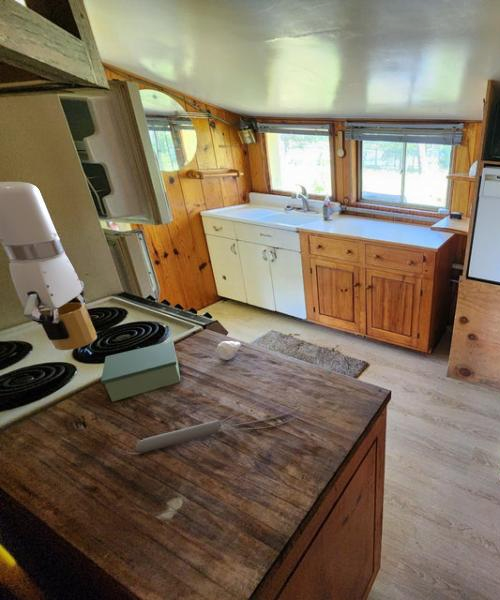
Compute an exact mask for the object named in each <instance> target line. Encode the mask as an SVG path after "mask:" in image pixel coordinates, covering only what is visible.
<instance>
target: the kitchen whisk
mask: <svg viewBox="0 0 500 600" xmlns="http://www.w3.org/2000/svg"><path fill="white" fill-rule="evenodd" d="M286 397H287V398H292V399H294V400H295V401H286V402H285V401H284V402H280V403H279V402H278V403H275V404H272V405H268V406H265V407H261V408H257V409H254V410H252V411H248V412H247V413H244V414H241V413H242V412H243V411H246V410H248V409H249V410H250V409H251V408H252V407H255V406H257V405H260V404H263V403H265V402H269V401H271V400H276V399H279V398H286ZM291 404H297V407H296V408H295V409H292V410H290V411H288V412H285V413H281V414H278V415H275V416H270V417H267V418H262V419H257V420H253V421H248V422H242V423H236V424H229V425H225V424H227V423H229V422H233V421H236V420H239V419H242V418H244V417H247V416H251V415H254V414H257V413H260V412H262V411H267V410H269V409H273V408H278V407H281V406H286V405H291ZM296 411H297V412H296ZM300 411H301V403H300V401H299V399H297V398H296V397H295V396H292V395H280V396H279V395H277V396H273V397H270V398H267V399H264V400H261V401H259V402H256V403H254V404H251V405H250V406H247V407H245V408H243V409H241V410H239V411H237V412H235V413H233V414H231V415H229V416H228V417H226V418H224V419H222V420H220V419H216V420H213V421H208V422H205V423H200V424H197V425H193V426H188V427H184V428H181V429H177V430H173V431H169V432H165V433H162V434H157V435H154V436H149V437H145V438H143V439H142V440H140V439H137V440H135V441H133V442H130V443H129V444H128V445H126V448H125V452H126V453H127V454H129V455H141V454H143V453H147V452H152V451H157V450H159V449H162V448H166V447H170V446H174V445H178V444H181V443H185V442H189V441H194V440H197V439H201V438H204V437H209V436H212V435H215V434H220V433H221V431H222V430H225V431H229V430H230V431H237V430H238V431H240V430H241V431H242V430H243V431H244V430H245V428H227V427H234V426H235V427H236V426H241V425H247V424H253V423H254V424H255V423H259V422H264V421H268V420H273V419H278V418H281V417H284V416H287V415H290V414H292V413H294V412H296V414H295V415H294V416H293V417H292V418H291V419H289V420H287V421H285V422H282V423H278V424H274V425H268V426H261V427H250V428H247V430H256V429H257V430H259V429H265V428H271V427H276V426H280V425H283V424H286V423H289V422H290V421H292V420H293V419H295V418H296V417H297V416H298V414H299V413H300ZM238 414H241V415H238ZM236 415H238V416H236ZM234 416H235V417H234ZM232 417H233V418H232ZM230 418H231V419H230ZM228 419H229V420H228ZM223 425H224V426H223ZM134 443H136V445H135V449H136V453H135V452H134V453H133V452H129V451H128V447H130V445H132V444H134Z"/></svg>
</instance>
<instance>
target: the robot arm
mask: <svg viewBox="0 0 500 600" xmlns="http://www.w3.org/2000/svg"><path fill="white" fill-rule="evenodd" d="M0 243H1V246H2V247H3V250H4V251H5V254H6V256H7V258H8V259H9V263H8V268H9V273H10V277H11V281H12V283H13V286H14V288H15V291H16V294H17V297H18V299H19V301H20V303H21V305H22V307H23V309H24V311H23V316H24V317H25V318H27V319H29V320H32V322H35V323H37V324H38V325H40V326H42V329H43V330H44V332H45V334H46V336H47V338H48V340H49V341H52V340H61V339H68V338H69V334H68V332H67V330H66V327H65V325H64V323H63V321H59V313H58V308H59V307H61V306H62V305H64V304H66V303H73V302H78V303H83V304H84V305H85V307H86V309H87V312H88V314H89V317H90V319H91V320H92V317H91V316H90V313H89V311H88V308H87V306H86V302H87V301H86V299H85V298H84V297H85V291H84V289H85V282H84V281H82V280H80V279H79V276H78V274H77V273H76V270H75V268H74V267H73V264H72V263H71V261H70V259H69V258H68V256H67V254H66V251H65V249H64V246H63V245H62V242H61V240H60V238H59V235H58V233H57V230H56V228H55V225H54V223H53V220H52V218H51V215H50V212H49V210H48V208H47V205H46V203H45V200H44V199H43V196H42V194H41V191H40V190H39V188H38V187H37V186H36V185H34V184H32V183H30V182H25V181H0ZM45 306H48V307H45ZM45 311H51V316H48V315H45Z"/></svg>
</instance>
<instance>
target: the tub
mask: <svg viewBox="0 0 500 600" xmlns="http://www.w3.org/2000/svg"><path fill="white" fill-rule="evenodd" d="M100 382H101V385H104V387H105V389H106V391H107V393H108V395H109V398H110V401H111V402H116V401H120V400H123V399H126V398H130V397H133V396H137V395H140V394H143V393H146V392H151V391H153V390H157V389H160V388H165V387H166V386H167V387H168V386H171V385H175V384H177V383H181V376H180V368H179V361H178V358H177V354H176V349H175V342H174V340H171V341H170V340H169V341H167V342H162V343H157V344H153V345H149V346H145V347H141V348H136V349H132V350H128V351H123V352H120V353H115V354H111V355H106V356H105V358H104V363H103V368H102V374H101V380H100Z"/></svg>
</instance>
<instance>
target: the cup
mask: <svg viewBox="0 0 500 600" xmlns="http://www.w3.org/2000/svg"><path fill="white" fill-rule="evenodd" d="M85 306H86V304H83V303H78V302H73V303H66V304H64V305H62V306H61V307H59V308H58V313H59V321H63V323H64V325H65V327H66V330H67V332H68V334H69V338H68V339H61V340H51V343H52V344H53V346H54V348H55V349H56V350H58V351H71V350H76V349H80V348H83V347H85V346H88V345H90V344H92V343H93V342H95V341H96V340H97V338H98V334H97V331H96V329H95V326H94V324H93V322H92V318H91V316H90V317H89V315H90V313H89V311H88V308H87V306H86V307H85ZM86 308H87V309H86ZM87 311H88V312H87ZM88 313H89V314H88ZM45 315H48V316H51V311H45ZM90 318H91V319H90Z"/></svg>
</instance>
